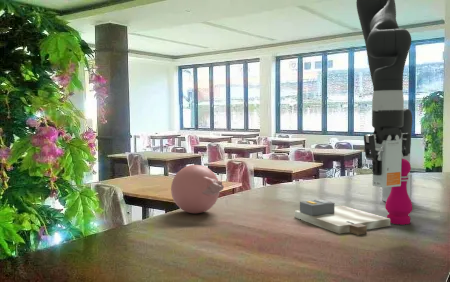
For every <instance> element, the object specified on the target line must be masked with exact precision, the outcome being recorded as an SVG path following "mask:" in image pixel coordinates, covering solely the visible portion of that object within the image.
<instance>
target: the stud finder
mask: <svg viewBox="0 0 450 282" xmlns="http://www.w3.org/2000/svg"><path fill="white" fill-rule="evenodd" d="M334 206H336V204H335V202H332V201H329V200H325V199H321V198H320V199H314V200H312V199H311V200H304V201H299V210H300V212H302V213H305V214H308V215H311V216H315V215H323V214H331V213H334Z"/></svg>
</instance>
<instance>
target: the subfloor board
mask: <svg viewBox="0 0 450 282" xmlns="http://www.w3.org/2000/svg"><path fill="white" fill-rule="evenodd" d="M294 218H295V219H298V220H300V219H301V220H300V221H303V222H306V223H309V224H312V225H314V226H317V227H320V228H322V229H325V230H327V231H331V232H334V233H336V234H344V233H345V234H346V233H351V234H354V235H357V236H359V235H366V234H367V232H368V231H367V230H371V229H372V230H373V229H379V228H386V227H390V226H391V223H390V219H389V218H387V216H386V217H385V216H381V215H377V214H374V213H371V212H367V211H364V210H360V209H355V208H352V207H350V206H346V205H335V206H334V213H331V214H323V215H315V216H311V215H308V214H305V213H302V212H300V209H297V210H294Z"/></svg>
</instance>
